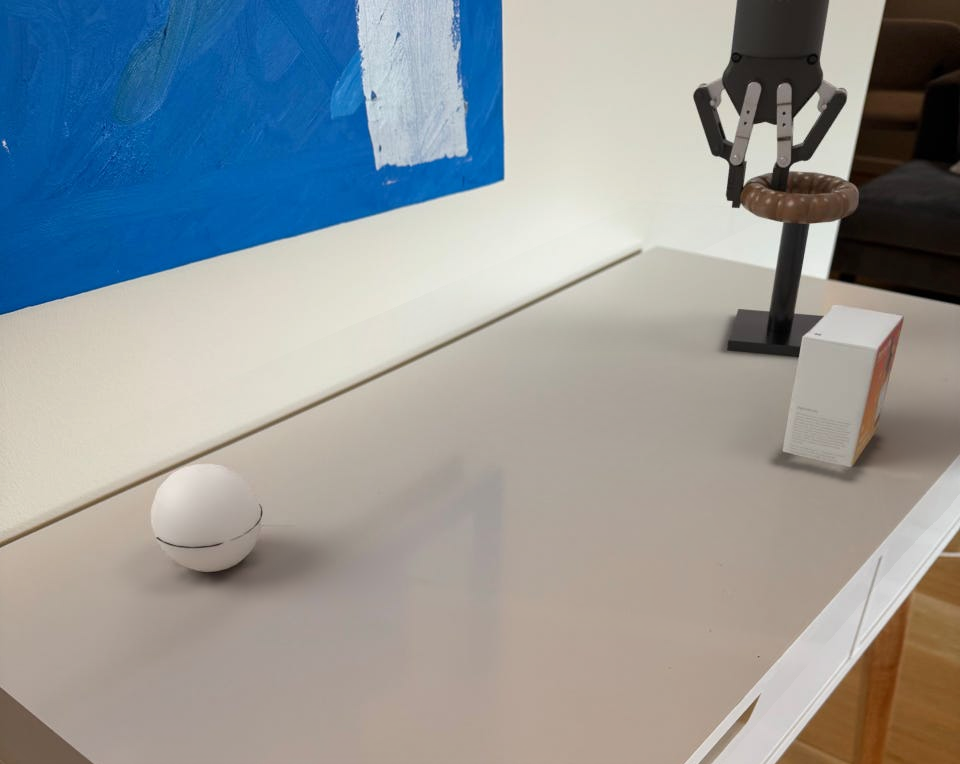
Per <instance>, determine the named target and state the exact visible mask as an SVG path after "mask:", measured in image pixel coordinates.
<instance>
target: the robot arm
mask: <svg viewBox="0 0 960 764" xmlns="http://www.w3.org/2000/svg"><path fill="white" fill-rule="evenodd" d="M829 6H830V0H736V5H735V15H734V23H733V31H732V32H733V33H732V42H731V51H730V57H729V61H728V63H727V65H726V67H725V69H724V70H723V73H722V76H721V77H718V78H717V79H715V80H713V81H711V82H708V83H706V82H705V83H704V82H703V83H700V84H699V85H698V86H697V87H696V89H695V90H694V92H693V95H692V97H693V101H694V104H695V108H696V111H697V114H698V117H699V120H700V123H701V125H702V129H703V132H704V135H705V138H706V141H707V144H708V146H709V150H710V153H711V155H712V156H713V157H715V158H716V157H718V158H721V159H723V160H725V161H726V162H727V163H728V173H727V180H726V191H725V198H726V201H727V202H731V208H732V209H740V208H741V206H742V204H741V200H740V196H741V192H742V190H743V187H744V185H745V180H746V179H745V178H746V171H747V163H748V162H747V160H746V155H747V151H748V147H749V143H750V140H751V136H752V133H753V130H754V126H755V125H758V124H763V123H767V124H770V125H774V126H776V162H774V165H773V168H772V172H771V173H772V180H771V187H770V189H771V190H776V191H780V192H785V193H786V189H787V182H788V176H789V171H790V168H791V167H792V166H793V165H794V164H796V163H800V162H808V161H809V160H811V158H813V156H814V154H815V153H816V151H817V150H818V148H819V146H820V145H821V143H822V141H823V140H824V139H825V137H826V135H827V134H828V133H829V130H830V129H831V127H832V126H833V124H834V123H835V121H836V120H837V118H838V116H839V115H840V113H841V111H842V110H843V109H844V107H845V105H846V103H847V100H848V91H847V89H846V88H844V87H837V86H835V85H833V83H830V82H828V81H827V80H825V79H824V72H823V69H822V65H821V55H822V49H823V43H824V36H825V31H826V30H825V29H826V24H827V19H828V12H829ZM724 90H725V92H726V94H727V96H728V98H729V100H730V102H731V103H732V106H733V107H734V109H735V111H736V113H737V115H738V116H739V120H738V124H737V127H736V131H735V135H734V140H733V142H732V141H730V140H729V139H728V138H727V137H726V133H725V131H724V126H723V123H722V121H721V118H720V114H719V111H718V108H719V106H720V105H721V103H722V93H723V91H724ZM816 93H817V94H818V96H819V100H818V101H817V105H816V106H817V107H816V108H817V110H818V112H819V113H820V114H819V115H818V117H817V119H816V121H815V122H814V124H813V125H812V127H811V128H810V130H809V131H808V133H807V134H806V137H805V138H804V139H803V141H802V142H800V143H797V144H794V129H795V128H794V127H795V126H794V125H795V123H794V122H795V121H794V120H795V118H796V116H797V115H799V113H800V112H801V110H802V109H803V108H804V107H805V106H806V105H807V103H808V102H809V101H810V100H811V99H812V98H813V96H815V94H816Z"/></svg>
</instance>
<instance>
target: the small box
mask: <svg viewBox="0 0 960 764" xmlns="http://www.w3.org/2000/svg"><path fill="white" fill-rule="evenodd" d="M823 316H824V317H823V318H822V319H821V320H820V321H819V322H818V323H817V324H816V325H815V326H814V327H813V328H812V329H811V330H810V331H809V332H808V333H806V334H805V335H804V336H803V337H802V343H801V349H800V354H799V357H798V359H797V366H796V371H795V372H796V373H795V377H794V381H793V386H792V387H793V388H792V393H791V399H790V404H789V411H788V416H787V417H788V418H787V423H786V427H785V433H784V439H783V440H784V441H783V445H782V452H784V453H788V454H792V455H795V456H800V457H804V458H809V459H813V460H816V461H821V462H825V463H830V464H833V465H838V466H842V467H848V468H853V466H854V465H855V463H856V461H857V460H858V458H859V457H860V455H861V454H862V452H863V451H864V450H865V448H866V446H867V445H868V443H869V442H871V441H870V440H872V438H873V436H874V434H875V433H876V431H877V429H878V426H879V423H880V418H881V414H882V409H883V406H884V403H885V399H886V394H887V390H888V385H889V380H890V376H891V371H892V368H893V364H894V362H895V357H896V352H897V348H898V345H899V340H900V336H901V333H902V332H901V330H902V328H903V323H904V319H905V316H904V315H901V314H900V315H899V314H894V313H888V312H883V311H876V310H871V309H865V308H864V309H863V308H860V307H859V308H858V307H853V306H847V305H840V304H833V305H831V308H829V310H828V311H827V312H826V313H825V314H824V315H823Z"/></svg>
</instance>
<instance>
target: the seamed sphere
mask: <svg viewBox="0 0 960 764" xmlns="http://www.w3.org/2000/svg"><path fill="white" fill-rule="evenodd" d="M262 517H263V507H262V505H261V504H260V501H259V500H258V497H257V495H256V493H255V491H254V489H253V488H252V486H251V485H250V484H249V483H248V482H247V481H246V479H245V478H244V477H242V476H241V475H240V474H239V473H236V472H235V471H233V470H232V469H229V468H227V467H226V466H223V465H220V464H216V463H215V464H214V463H196V464H191V465H187V466H185V467H182V468H180V469H177V470H176V471H174V472H172V473H171V474H170V475H169V476H168V477H167V478H166V479H165V480H164V481H163V483H162V484H161V485H160V486H158V488H157V489H156V493H155V495H154V499H153V502H152V505H151V509H150V523H151V529H152V531H153V534H154V536H155V539H156V542H157V543H158V545H159V547H160V548H161V550H162V551H163V552H164V553H165V554H166V555H167V556H168V557H170V558H171V559H172V560H173V561H174V562H175V563H176V564H178V565H180V566H183V567H185V568H188V569H191V570H194V571H197V572H203V573H204V572H205V573H211V572H213V573H214V572H220V571H224V570H227V569H230V568H231V567H234V566H236V565H237V564H239V563H240V562H241V561H243V560H244V559H245V558H246V557H247V556H248V555H249V554H250V553H251V552H252V551H253V549H254V548H255V546H256V544H257V542H258V539H259V537H260V534H261V531H262V527H295V525H294V524H287V525H286V524H262Z"/></svg>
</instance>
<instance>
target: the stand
mask: <svg viewBox="0 0 960 764" xmlns="http://www.w3.org/2000/svg"><path fill="white" fill-rule="evenodd" d="M810 225H811V224H801V223H786V222H782V227H781V234H780V240H779V246H778V253H777V260H776V265H775V273H774V279H773V284H772V285H773V286H772V292H771V299H770V305H769V311H768V310H758V309H745V308H738V309H737V310H736V311H737V313H736V314H735V318H734V320H733V321H734V322H733V325H732V327H731V330H730V333H729V337H728V340H727V346H726V351H727V352H728V351H729V352H736V353H737V352H738V353H750V354H759V355H771V356H781V357H790V358H791V357H792V358H799V354H800V349H801V343H802V337H803V336H804V335H805V334H806V333H808V332H809V331H810V330H811V329H812V328H813V327H814V326H815V325H816V324H817V323H818V322H819V321H820V320H821V319H822V318H823V317H824V316H825V315H817V314H807V313H806V314H805V313H795V312H796V306H797V301H798V295H799V289H800V285H801V278H802V271H803V266H804V259H805V254H806V248H807V241H808V236H809V230H810Z"/></svg>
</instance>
